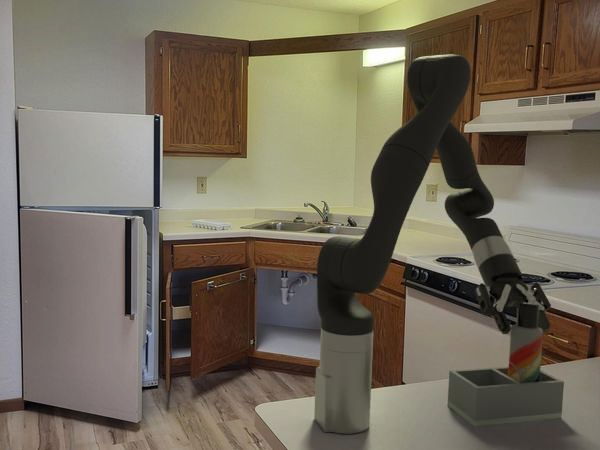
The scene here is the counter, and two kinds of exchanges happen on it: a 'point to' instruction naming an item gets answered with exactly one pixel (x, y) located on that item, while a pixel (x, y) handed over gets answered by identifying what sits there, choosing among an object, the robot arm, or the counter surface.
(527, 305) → the lotion bottle
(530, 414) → the box
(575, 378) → the counter surface
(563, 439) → the counter surface
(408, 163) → the robot arm
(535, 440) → the counter surface
